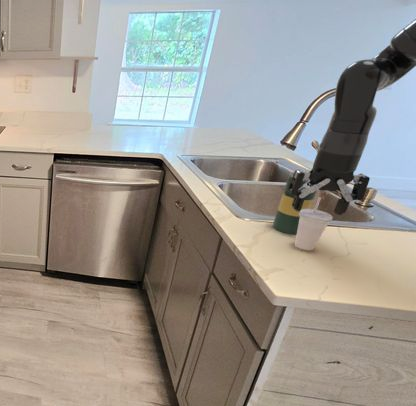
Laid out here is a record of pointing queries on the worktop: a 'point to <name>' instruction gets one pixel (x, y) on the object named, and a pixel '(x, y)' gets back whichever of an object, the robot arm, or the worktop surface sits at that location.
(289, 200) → the tin can
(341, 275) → the worktop surface
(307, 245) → the smoothie
